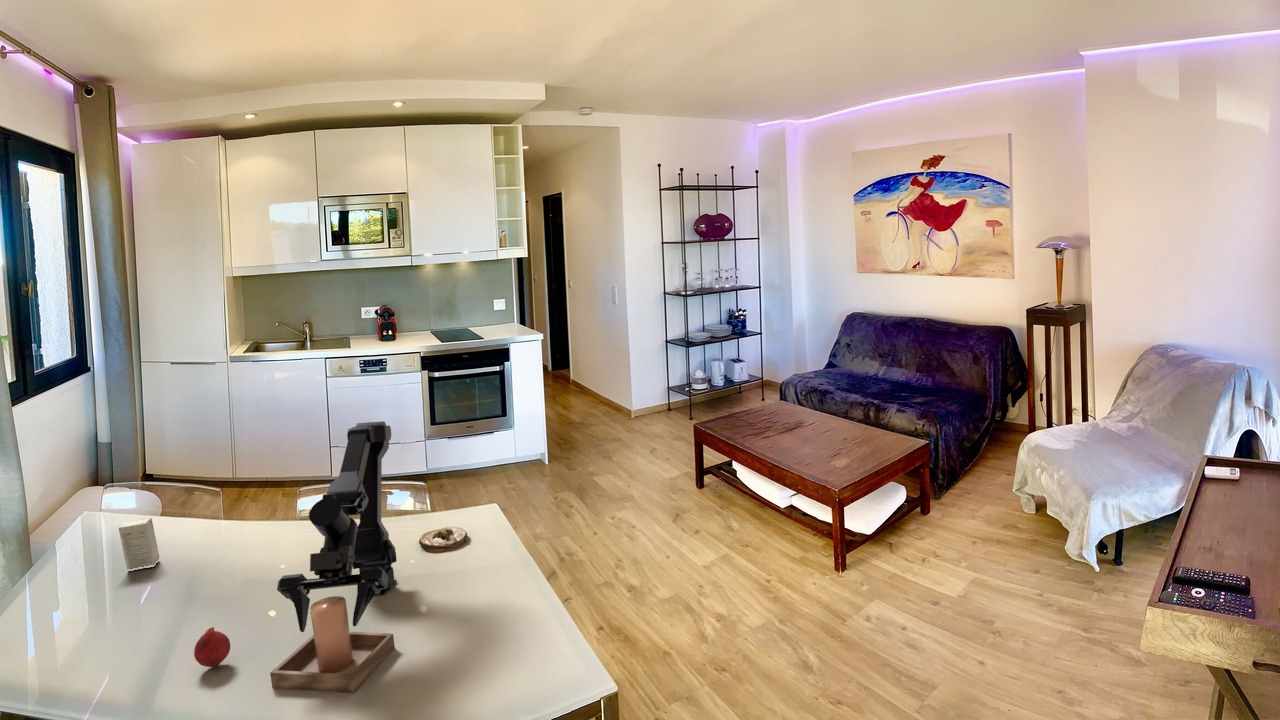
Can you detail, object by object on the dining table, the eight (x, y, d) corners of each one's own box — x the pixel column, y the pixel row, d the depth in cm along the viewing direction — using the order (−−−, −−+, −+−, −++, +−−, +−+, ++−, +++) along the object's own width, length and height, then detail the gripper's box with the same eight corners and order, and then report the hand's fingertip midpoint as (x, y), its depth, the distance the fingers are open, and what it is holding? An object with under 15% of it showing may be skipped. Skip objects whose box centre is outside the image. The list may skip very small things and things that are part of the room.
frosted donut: (414, 538, 189) (412, 524, 188) (469, 529, 193) (468, 515, 193) (414, 560, 175) (413, 544, 174) (474, 549, 180) (473, 534, 179)
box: (272, 688, 123) (270, 672, 123) (320, 644, 137) (318, 630, 136) (353, 693, 120) (352, 677, 120) (394, 647, 134) (393, 633, 134)
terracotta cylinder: (312, 665, 128) (305, 605, 127) (344, 651, 133) (337, 593, 131) (326, 677, 124) (318, 616, 123) (358, 662, 129) (351, 602, 127)
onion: (215, 677, 127) (209, 637, 126) (189, 675, 128) (183, 635, 127) (239, 659, 133) (233, 620, 132) (214, 657, 134) (208, 619, 133)
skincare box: (160, 561, 181) (153, 517, 179) (155, 568, 177) (147, 523, 175) (132, 565, 179) (124, 521, 177) (125, 572, 175) (117, 527, 173)
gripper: (274, 535, 127) (257, 621, 118) (378, 525, 130) (369, 609, 121) (294, 557, 136) (280, 639, 127) (391, 548, 139) (385, 627, 130)
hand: (328, 628), depth 126 cm, fingers open, 9 cm apart
